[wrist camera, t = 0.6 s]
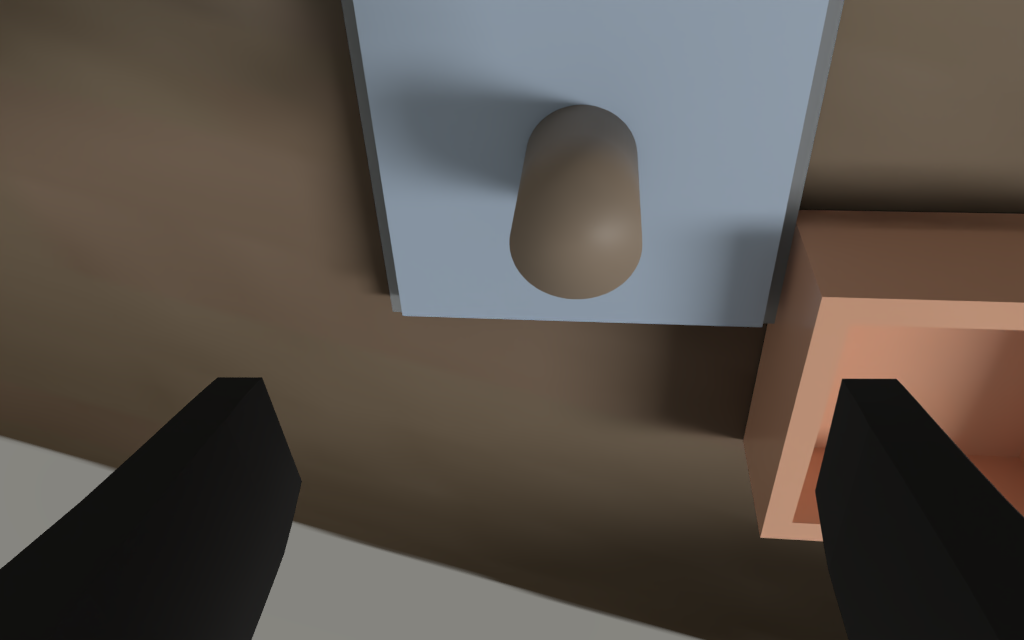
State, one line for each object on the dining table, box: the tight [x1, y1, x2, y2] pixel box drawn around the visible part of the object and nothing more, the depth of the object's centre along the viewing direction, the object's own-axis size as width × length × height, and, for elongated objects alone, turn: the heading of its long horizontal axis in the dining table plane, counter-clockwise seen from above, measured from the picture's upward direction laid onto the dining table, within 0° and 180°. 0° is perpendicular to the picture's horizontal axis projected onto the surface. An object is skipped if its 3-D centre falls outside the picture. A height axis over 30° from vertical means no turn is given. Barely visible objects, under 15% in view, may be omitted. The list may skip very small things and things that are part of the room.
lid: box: [353, 0, 829, 327], centre depth 16 cm, size 9×9×4 cm
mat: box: [341, 0, 844, 324], centre depth 18 cm, size 10×10×1 cm
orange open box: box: [743, 210, 1024, 541], centre depth 19 cm, size 8×8×4 cm
